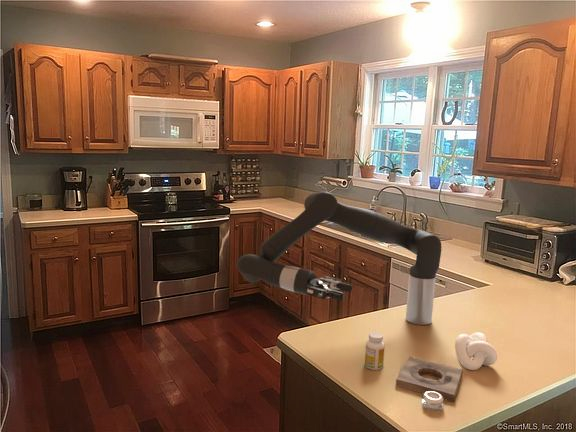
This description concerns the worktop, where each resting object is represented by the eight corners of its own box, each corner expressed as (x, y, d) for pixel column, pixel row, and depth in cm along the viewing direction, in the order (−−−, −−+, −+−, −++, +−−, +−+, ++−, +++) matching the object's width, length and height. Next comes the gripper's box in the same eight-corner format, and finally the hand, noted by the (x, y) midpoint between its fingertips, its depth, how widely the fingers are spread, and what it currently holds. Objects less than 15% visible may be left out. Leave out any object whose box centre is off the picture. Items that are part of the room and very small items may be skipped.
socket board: (408, 362, 137) (409, 356, 137) (461, 375, 130) (462, 369, 130) (395, 385, 124) (396, 378, 124) (453, 402, 117) (454, 394, 117)
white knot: (471, 378, 129) (474, 348, 128) (441, 358, 140) (444, 331, 139) (500, 371, 134) (504, 342, 132) (469, 353, 145) (472, 326, 143)
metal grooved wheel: (422, 398, 118) (421, 409, 114) (423, 388, 118) (422, 398, 113) (443, 403, 117) (442, 413, 112) (444, 392, 116) (443, 402, 112)
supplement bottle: (380, 361, 137) (382, 331, 135) (385, 370, 132) (387, 339, 130) (362, 361, 137) (364, 330, 135) (366, 370, 132) (368, 338, 130)
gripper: (289, 273, 133) (342, 286, 127) (307, 263, 146) (356, 274, 140) (286, 298, 135) (338, 312, 128) (304, 285, 148) (353, 298, 141)
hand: (347, 292), depth 134 cm, fingers open, 8 cm apart
